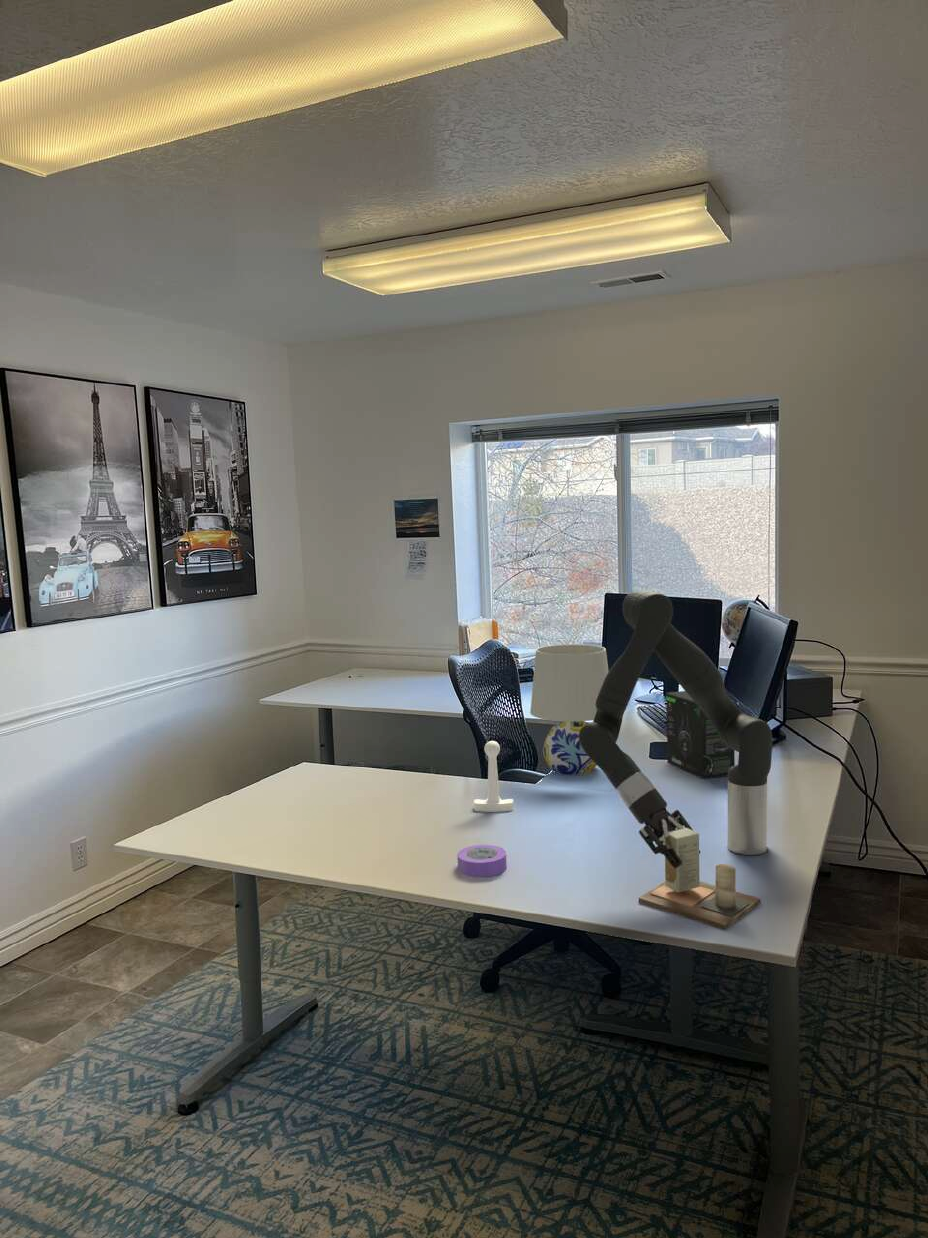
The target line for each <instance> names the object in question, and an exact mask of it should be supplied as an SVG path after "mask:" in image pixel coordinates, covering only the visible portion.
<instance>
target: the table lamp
mask: <svg viewBox="0 0 928 1238" xmlns="http://www.w3.org/2000/svg"><path fill="white" fill-rule="evenodd" d="M534 656H535V659H534V668H533V680H532V688H531V689H532V690H531V698H530V699H531V702H530V712H529V713H530V715H531V716H532V717H535V718H538V719H542V720H546V721H554V722H556V723H554V725H553V726H552V727H551V729H550V730H549V732H548V733H547V735H546V737H545V739H544V742H543V748H542V751H543V758H544V759H545V762H546V764H547V766H548V767H549V769H550V770H551V771H552V772H553V771H555V772H554V773H555V774H558V775H562V776H582V775H583V776H584V775H587V774H590V773H592V772H593V771H594V770H595V769H596V767H598V766H597V765H596V764H595V763H594V761H593V760H592V759H591V758H590V757H589V756H588V755H587V754H586V752H585V751H584V750H583V748H582V747H581V745H580V742H579V732H580V730H581V728H582V727H583V726H584V725H585V724H587V722H588V721H594V718H595V715H596V711H597V708H596V705H595V704H596V700H597V697H598V694H599V692H600V689H601V687H602V685H603V682H604V680H605V678H606V676H607V674H608V672H609V665H608V655H607V649H606V648H605V647H604V646H601V645H593V644H576V643H572V644H568V643H567V644H555V645H554V644H552V645H551V644H550V645H544V646H540V647H537V648H536V649H535V655H534Z"/></svg>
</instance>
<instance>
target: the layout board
mask: <svg viewBox="0 0 928 1238" xmlns="http://www.w3.org/2000/svg"><path fill="white" fill-rule="evenodd" d="M736 871H737V870H736V867H735V866H734V865H732V864H727V863H720V864H719V863H718V864H717V865H716V866H715V884H710V883H707V882H704V881H700V887H697V888H693V889H690V890H686V891H682V892H675V891H673V890H672V889H670V888H669V887H667V886H666V885H665V881H664V882H662V883H661V884H659V885H657V886H656V887H654V888H652V889H651V890H649V891H648V892H646V893H645V894H642V895H641V896H639V897H638V903H640V904H643V905H646V906H649V907H653V908H655V909H659V910H662V911H664V912H668V913H672V914H674V915H677V914H678V916H680V915H681V916H680V917H683V916H684V918H686V917H687V918H686V919H690V920H694V921H696V922H699V923H702V924H705V925H708V926H712V927H715V928H718V929H722V930H723V931H725V930H727V929H728V928H729V927H731V926H732V925H734V924H735V923H736V922H737V921H739V920H741V918H743V917H744V916H746V915H747V914H748V913H750V912H751V911H752V910H754V909H755V908H756V907H758V906H759V905H761V902H762V901H761V898H760V897H756V896H753V895H749V894H745V893H743V892H739V891H736V884H737V883H736V880H737V879H736Z"/></svg>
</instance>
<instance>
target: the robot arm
mask: <svg viewBox="0 0 928 1238" xmlns="http://www.w3.org/2000/svg"><path fill="white" fill-rule="evenodd" d="M621 607H622V608H621V611H622V616H623V618H624V620H625V622H626V623H627V625H629V626H630V627H631V628H632V630H633V634H632V636H631V638H630V641H629V643H628V645H627V646H626V648H625V649H624V651H623V653H621V655H620V656H619V657H618V659H616V661H615V662H614V663H613V665H612V666H611V668H610V669H608V671H609V672H608V674H607V676H606V678H605V680H604V682H603V685H602V687H601V689H600V692H599V694H598V697H597V700H596V704H595V705H596V708H597V711H596V715H595V718H594V720H592V721H593V722H588V723H587V722H586V723H587V724H585V725H584V726H583V727H582V728H581V730H580V732H579V742H580V745H581V747H582V748H583V750H584V751H585V752H586V754H587V755H588V756H589V757H590V758H591V759H592V760H593V761H594V763H595V764H596V765H597V766H596V767H598V768H599V769H600V770H601V771H602V772H603V773H604V775H605V776H606V778H607V779H608V780H609V782H610V783H611V785H612V787H614V789H615V790H616V791H617V793H618V795H619V797H620V798H621V800H622V802H623V804H625V805H626V807H627V808H628V810H629V811H630V813H631V814H632V816H633V817H634V818H635V819H636V821H637V822H638V823H639V824H640V825H643V824H644V826H643V827H642V828H640V830H638V833H639V836H641V837H642V840H644V842H645V844H647V846H648V847H649V848H650V850H651V851H652V853H654V855H658V854H660V855H663V856H664V858H665V857H666V858H667V860H668V861H669V862H670V864H671V865H672V866H673V867H674V868H677V867H679V866H680V865H681V864H682V861H681V859H680V858H679V857H678V855H677V854H676V853H675V851H674V850H673V849H670V848H671V846H670V843H669V833H668V832H670V831H674V830H679V829H683V828H688V829H691V830H693V831H694V829H693V828H692V826H691V825H690V824H689V822H688V821H687V820H686V819H685V817H684V816H683V815H682V813H681V812H680V810H678V809H676V810H674V811H673V812H671V813H670V812H669V810H667V807H668V803H667V801H666V800H665V799H664V798H663V796H662V795H661V793H660V792H659V791H658V789H657V788H656V787H655V785H654V784H653V782H651V780H650V779H649V778H648V777H647V776H646V775H645V774H644V773H643V771H641V769H640V768H639V766H638V764H636V762H635V761H634V760H633V759H632V757H631V756H630V755H629V754H627V753H626V752H624V751H623V750H622V749H621V748H620V746H618V744H617V741H618V739H619V735H620V731H621V727H622V722H623V718H624V715H625V712H626V709H627V707H628V705H629V703H630V701H631V697H632V695H633V692H634V690H635V687H636V685H637V682H638V681H639V678H640V677H641V674H642V672H643V671H644V668H645V667H646V665H647V663H648V662H649V659H650V658H651V656H652V654H653V652H655V654H656V655H657V657H658V658H659V659H660V660H661V662H662V663H663V665H664V666H665V667H666V668H667V670H668V671H669V672H670V674H671V675H672V676H673V678H674V679H675V680H676V682H677V683H678V684H679V685H680V687H681V688H682V689H683V691H686V692H687V694H688V695H689V696H690V697H691V698H692V699H693V701H694V702H695V703H696V704H697V705H698V706H699V708H700V709H701V710H702V711H703V712H704V713H705V714H706V716H707V717H708V718H709V720H710V721H711V723H712V724H713V726H714V727H715V729H716V731H717V732H718V734H719V735H720V737H721V739H722V740H723V741H724V743H725V744H726V745H727V746H728V747H729V748H731V749H733V750H734V752H738V761H737V762H738V763H737V764H735V766H732V767H730V768H729V770H728V775H727V849H728V850H729V851H731V852H733V853H735V854H740V855H743V856H745V855H746V856H757V855H761V854H764V853H766V852H767V848H768V847H767V843H768V842H767V841H768V840H767V839H768V776H769V773H770V772H771V767H772V755H773V754H772V753H773V733H772V729H771V727H770V725H769V724H768V723H767V721H765V720H763V719H760V718H758V717H754V716H750V715H748V714H746V713H744V712H743V711H742V710H740V709H739V707H738V706H737V705H736V704H735V702H734V703H733V702H732V701H731V700H732V699H730V697H729V695H728V694H727V692H726V687H725V682H724V679H723V676H722V674H721V672H720V670H719V669H718V667H717V666H716V665H715V664H714V662H713V661H712V660H711V659H710V657H709V656H708V655H707V653H705V652H704V651H703V650H702V649H701V648H700V647H699V646H697V644H695V643H694V642H693V641H691V640H690V639H689V638H687V636H685V635H684V634H683V633H681V632H680V631H679V630H677V629H676V628H675V626H674V625H673V624H672V623H671V622H672V618H673V615H674V606H673V603H672V601H671V599H670V598H669V597H668V596H667V595H666V594H664V593H659V592H657V591H651V590H647V589H639V590H633V591H632V592H629V593H628V594H627V595H626V596H625V597H624V600H623V601H622V605H621ZM700 854H701V850H700V849H699V855H700Z"/></svg>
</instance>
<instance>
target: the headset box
mask: <svg viewBox="0 0 928 1238" xmlns="http://www.w3.org/2000/svg"><path fill="white" fill-rule="evenodd" d="M665 694H666V738H667V739H666V740H667V741H666V742H667V743H666V747H667V748H666V749H667V750H666V751H667V753H666V754H667V763H669V764H670V765H673V766H675V767H677V768H678V769H681V770H683V771H685V772H688V773H690V774H692V775H695V776H697V777H698V778H702V779H710V778H719V777H725V776H727V777H728V770H729V768H730V767H732V766H735V765H736V762H735V760H736V759H735V758H736V757H735V756H736V755H735V752H736V751H735V750H733V749H731V748H729V747H728V746H727V745H726V744H725V743H724V741H723V740H722V739H721V737H720V735H719V734H718V732H717V731H716V729H715V727H714V726H713V724H712V723H711V721H710V720H709V718H708V717H707V716H706V714H705V713H704V712H703V711H702V710H701V709H700V708H699V706H698V705H697V704H696V703H695V702H694V701H693V699H692V698H691V697H690V696H689V695H688V694H687V692H686V691H685V690H683V691H682V690H681V691H669V692H666V693H665ZM730 700H731V701H732V702H733V703H734V704H735V701H734V700H733V699H730Z"/></svg>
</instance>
